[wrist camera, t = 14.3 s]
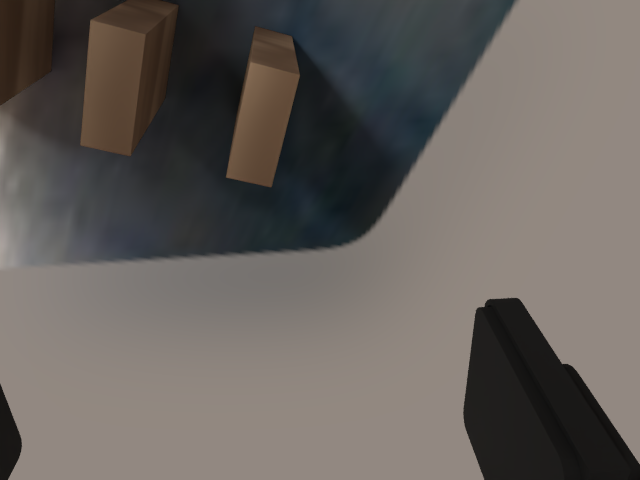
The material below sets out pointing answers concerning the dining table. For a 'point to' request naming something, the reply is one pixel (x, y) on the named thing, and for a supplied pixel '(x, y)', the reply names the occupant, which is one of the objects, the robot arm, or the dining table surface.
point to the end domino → (263, 108)
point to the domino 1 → (24, 44)
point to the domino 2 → (126, 73)
